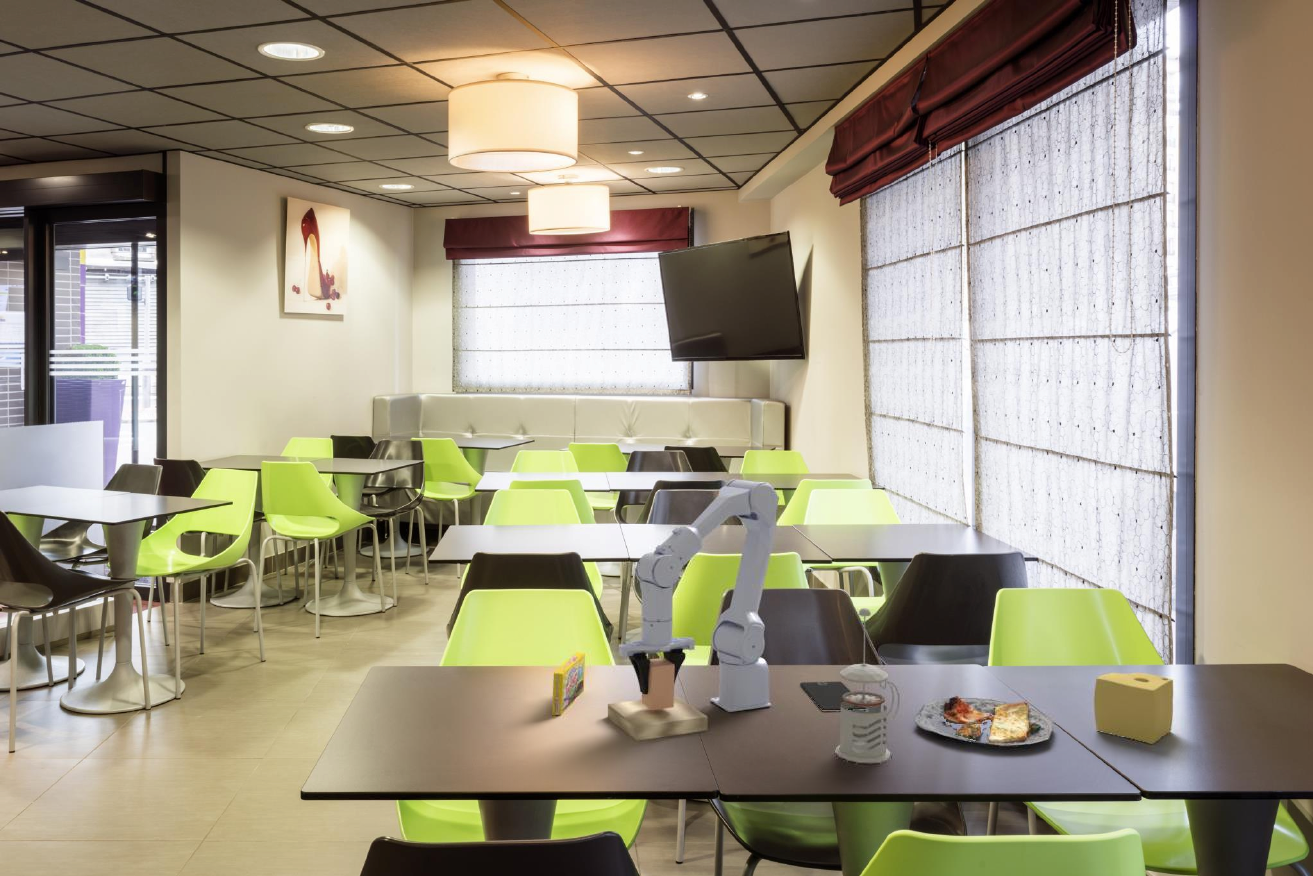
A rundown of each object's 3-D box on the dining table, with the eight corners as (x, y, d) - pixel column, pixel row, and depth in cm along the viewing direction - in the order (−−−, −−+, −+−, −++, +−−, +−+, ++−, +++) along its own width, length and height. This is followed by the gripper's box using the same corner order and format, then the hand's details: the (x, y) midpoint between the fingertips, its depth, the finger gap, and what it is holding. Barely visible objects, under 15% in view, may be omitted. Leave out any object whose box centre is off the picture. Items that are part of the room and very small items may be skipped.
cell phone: (840, 685, 214) (840, 681, 214) (867, 712, 196) (867, 707, 196) (799, 686, 213) (799, 682, 213) (822, 714, 195) (822, 709, 195)
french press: (822, 747, 175) (824, 604, 174) (879, 739, 180) (881, 599, 179) (854, 767, 166) (856, 616, 165) (913, 758, 171) (915, 611, 169)
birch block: (675, 710, 197) (675, 695, 197) (707, 732, 184) (707, 716, 184) (607, 719, 192) (607, 704, 191) (636, 743, 179) (636, 726, 179)
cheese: (1115, 719, 192) (1116, 666, 191) (1175, 732, 184) (1177, 678, 184) (1092, 732, 184) (1093, 677, 184) (1154, 747, 177) (1156, 690, 176)
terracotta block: (663, 699, 190) (664, 657, 190) (673, 707, 186) (674, 664, 186) (641, 702, 189) (642, 660, 188) (651, 710, 185) (652, 667, 184)
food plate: (932, 700, 202) (933, 683, 202) (1057, 719, 192) (1058, 700, 192) (905, 743, 180) (905, 724, 179) (1045, 766, 169) (1045, 746, 169)
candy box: (562, 716, 192) (562, 673, 192) (551, 716, 192) (551, 672, 192) (585, 691, 208) (585, 651, 207) (575, 691, 208) (575, 651, 208)
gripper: (628, 626, 180) (628, 702, 181) (702, 619, 186) (701, 692, 187) (614, 618, 187) (614, 691, 188) (685, 611, 193) (685, 682, 193)
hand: (656, 691), depth 188 cm, fingers closed on terracotta block, 4 cm apart
